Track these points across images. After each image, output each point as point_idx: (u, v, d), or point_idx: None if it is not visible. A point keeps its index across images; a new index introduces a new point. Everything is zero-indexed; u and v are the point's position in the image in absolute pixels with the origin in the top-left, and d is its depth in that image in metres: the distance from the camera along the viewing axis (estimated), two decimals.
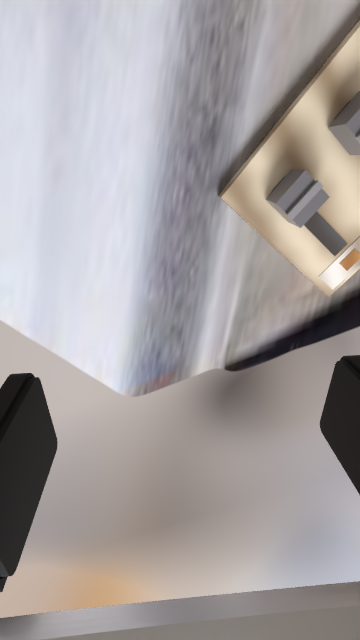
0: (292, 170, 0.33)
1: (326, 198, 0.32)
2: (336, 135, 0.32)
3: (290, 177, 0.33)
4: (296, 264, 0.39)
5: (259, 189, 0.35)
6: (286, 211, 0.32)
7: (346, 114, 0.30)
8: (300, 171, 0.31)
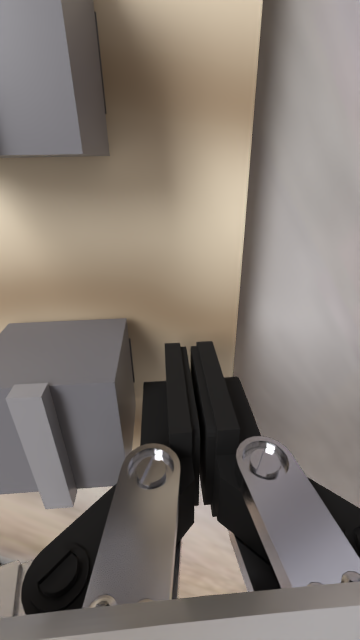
0: None
1: None
2: None
3: None
4: None
5: None
6: None
7: None
8: None
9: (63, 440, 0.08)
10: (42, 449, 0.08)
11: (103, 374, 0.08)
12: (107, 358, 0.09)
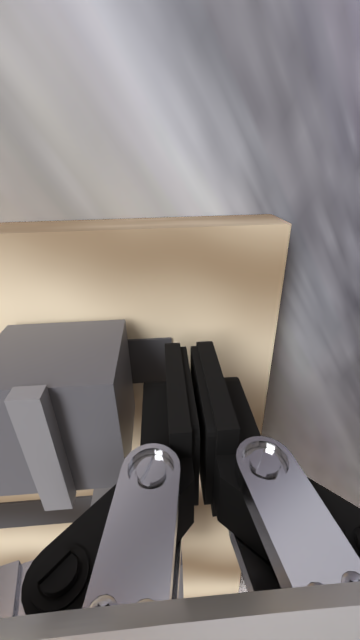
0: (133, 414, 0.12)
1: None
2: None
3: (130, 416, 0.11)
4: None
5: (202, 321, 0.11)
6: (53, 392, 0.08)
7: None
8: None
9: None
10: None
11: None
12: None
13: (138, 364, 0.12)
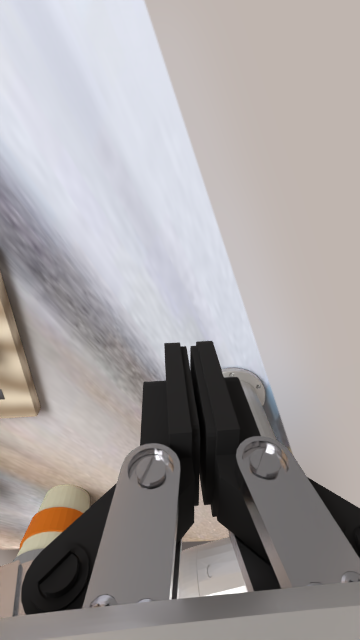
0: None
1: None
2: None
3: None
4: None
5: None
6: None
7: None
8: None
9: None
10: None
11: None
12: None
13: None
